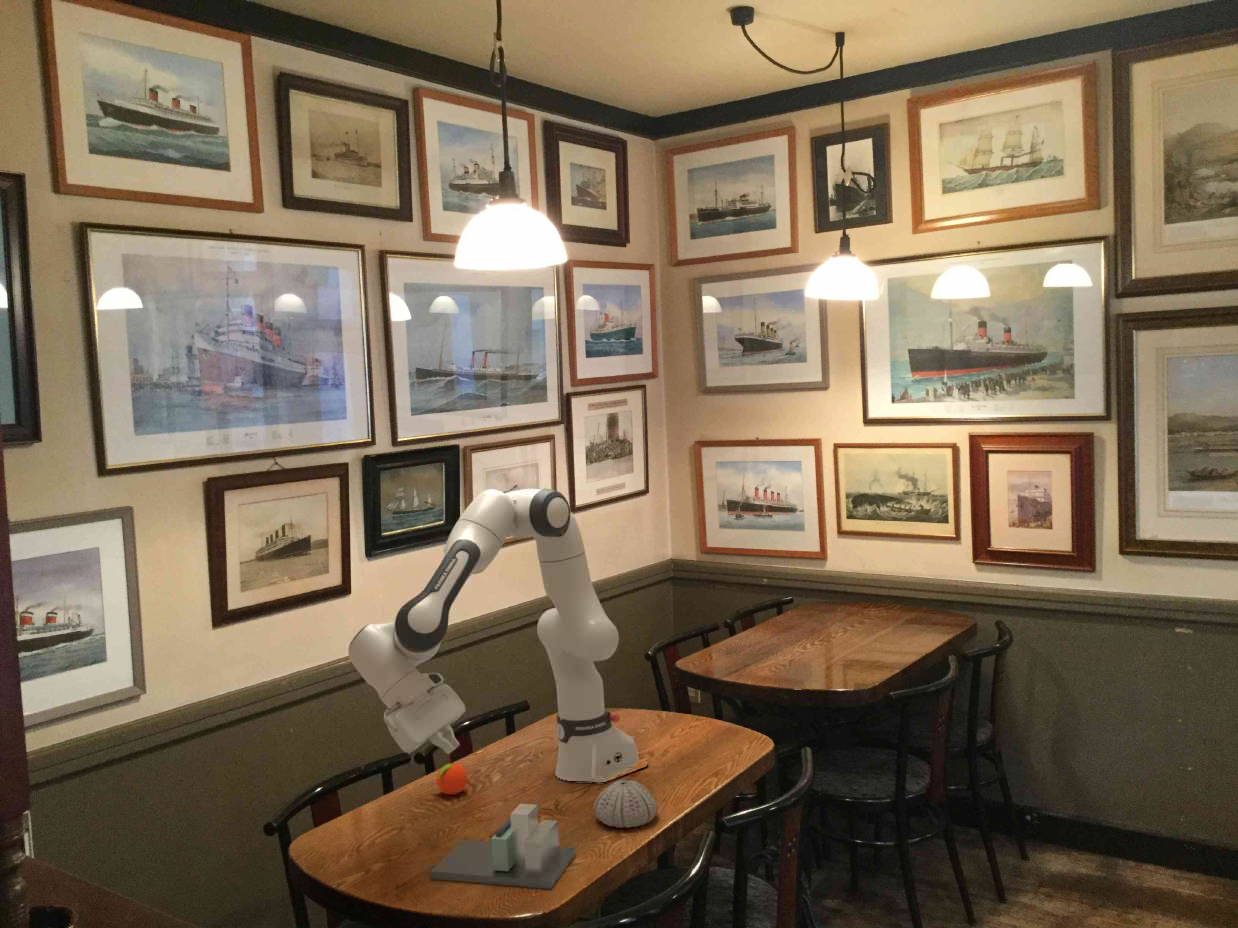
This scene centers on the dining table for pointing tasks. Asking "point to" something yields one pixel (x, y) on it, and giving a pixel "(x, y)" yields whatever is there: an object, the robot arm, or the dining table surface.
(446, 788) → the clementine
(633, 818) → the sea urchin shell
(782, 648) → the dining table surface
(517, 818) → the block
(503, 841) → the sliding jaw
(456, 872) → the vise
